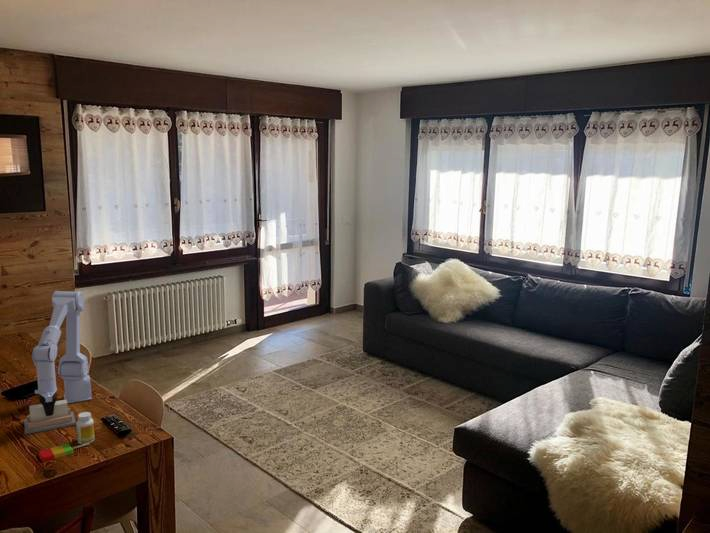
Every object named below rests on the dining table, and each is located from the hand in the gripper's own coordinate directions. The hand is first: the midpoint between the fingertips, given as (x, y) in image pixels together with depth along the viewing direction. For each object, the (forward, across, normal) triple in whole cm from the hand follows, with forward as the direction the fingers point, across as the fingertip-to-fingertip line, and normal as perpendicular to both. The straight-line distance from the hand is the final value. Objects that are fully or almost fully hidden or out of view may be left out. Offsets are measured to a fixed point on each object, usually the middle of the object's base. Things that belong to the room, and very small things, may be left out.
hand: (49, 413), depth 210 cm
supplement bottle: (+4, +19, +10) cm, 22 cm away
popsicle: (+5, +24, +3) cm, 24 cm away
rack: (+4, 0, 0) cm, 4 cm away
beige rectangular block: (+2, 0, 0) cm, 2 cm away
